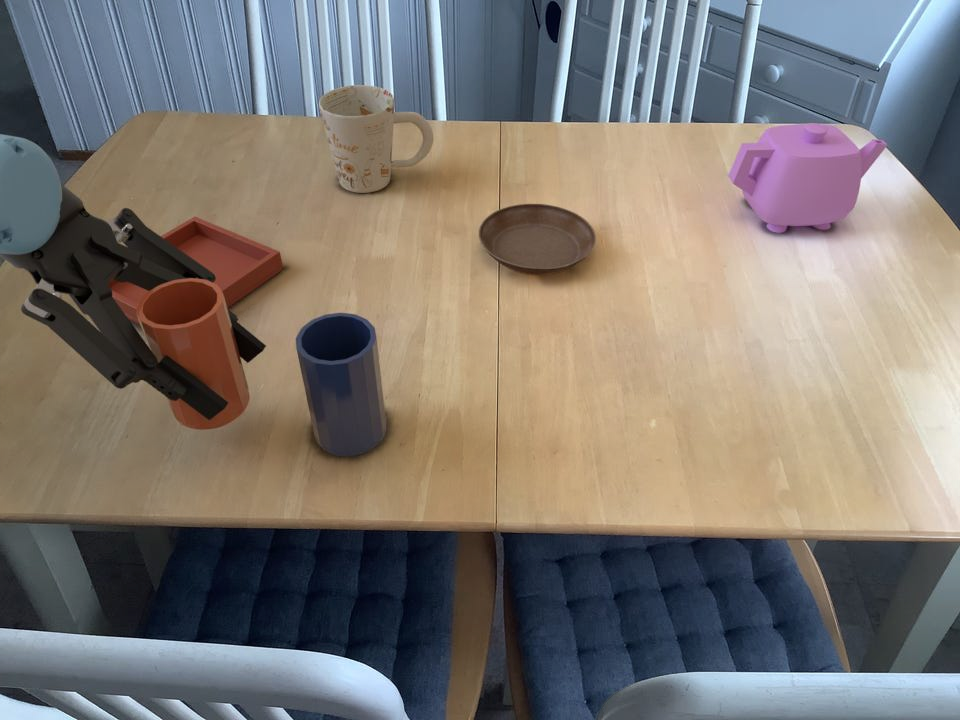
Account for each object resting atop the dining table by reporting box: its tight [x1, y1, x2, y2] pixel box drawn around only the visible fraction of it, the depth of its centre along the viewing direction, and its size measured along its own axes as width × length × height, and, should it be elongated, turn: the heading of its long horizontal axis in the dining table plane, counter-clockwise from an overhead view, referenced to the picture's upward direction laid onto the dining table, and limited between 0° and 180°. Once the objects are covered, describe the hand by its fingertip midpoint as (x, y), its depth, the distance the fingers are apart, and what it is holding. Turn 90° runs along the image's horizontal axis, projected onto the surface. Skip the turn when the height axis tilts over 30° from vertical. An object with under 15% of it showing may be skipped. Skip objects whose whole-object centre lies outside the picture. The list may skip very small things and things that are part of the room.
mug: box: [318, 84, 435, 194], centre depth 109 cm, size 10×15×12 cm, turn 101°
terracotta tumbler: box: [136, 278, 251, 431], centre depth 70 cm, size 7×7×12 cm
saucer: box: [478, 203, 597, 276], centre depth 99 cm, size 15×15×3 cm
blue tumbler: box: [295, 312, 387, 457], centre depth 73 cm, size 7×7×12 cm
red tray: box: [108, 216, 284, 326], centre depth 94 cm, size 17×15×3 cm
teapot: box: [727, 122, 888, 234], centre depth 102 cm, size 20×12×13 cm, turn 97°
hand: (238, 381), depth 71 cm, fingers closed on terracotta tumbler, 7 cm apart
